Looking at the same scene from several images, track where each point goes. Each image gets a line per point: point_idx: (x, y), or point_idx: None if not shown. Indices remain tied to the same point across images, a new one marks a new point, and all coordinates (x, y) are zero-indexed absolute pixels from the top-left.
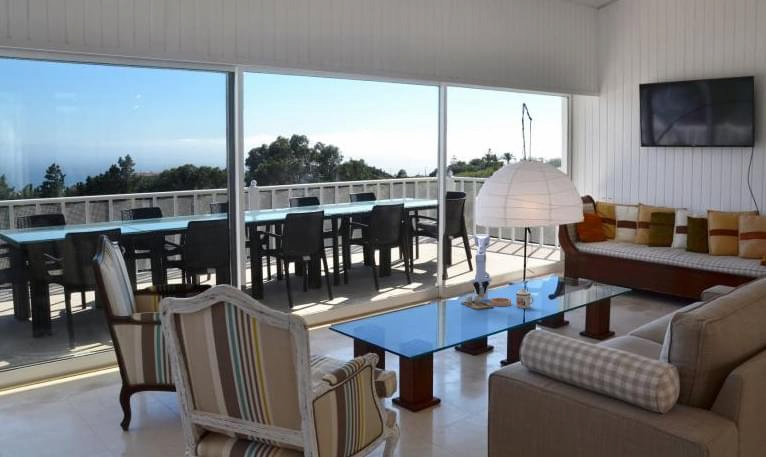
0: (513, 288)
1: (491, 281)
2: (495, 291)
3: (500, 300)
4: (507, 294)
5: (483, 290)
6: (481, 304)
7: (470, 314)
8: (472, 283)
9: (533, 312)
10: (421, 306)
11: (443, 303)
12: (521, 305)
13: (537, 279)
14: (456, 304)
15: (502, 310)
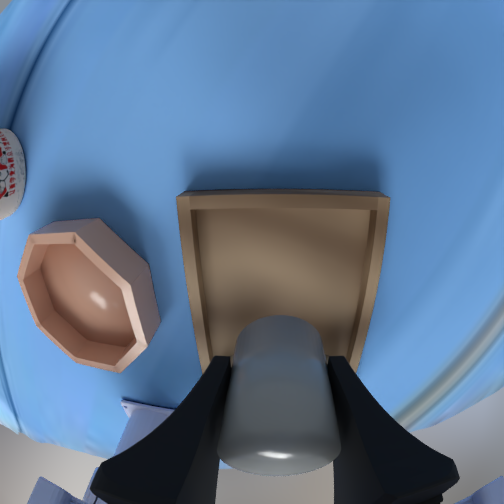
0: (39, 428)
1: (41, 477)
2: (86, 445)
3: (75, 339)
4: (49, 406)
5: (257, 387)
6: (224, 346)
7: (469, 122)
8: (492, 483)
9: (27, 19)
10: (481, 398)
11: None
12: (4, 137)
13: (6, 426)
14: None
15: (145, 105)
